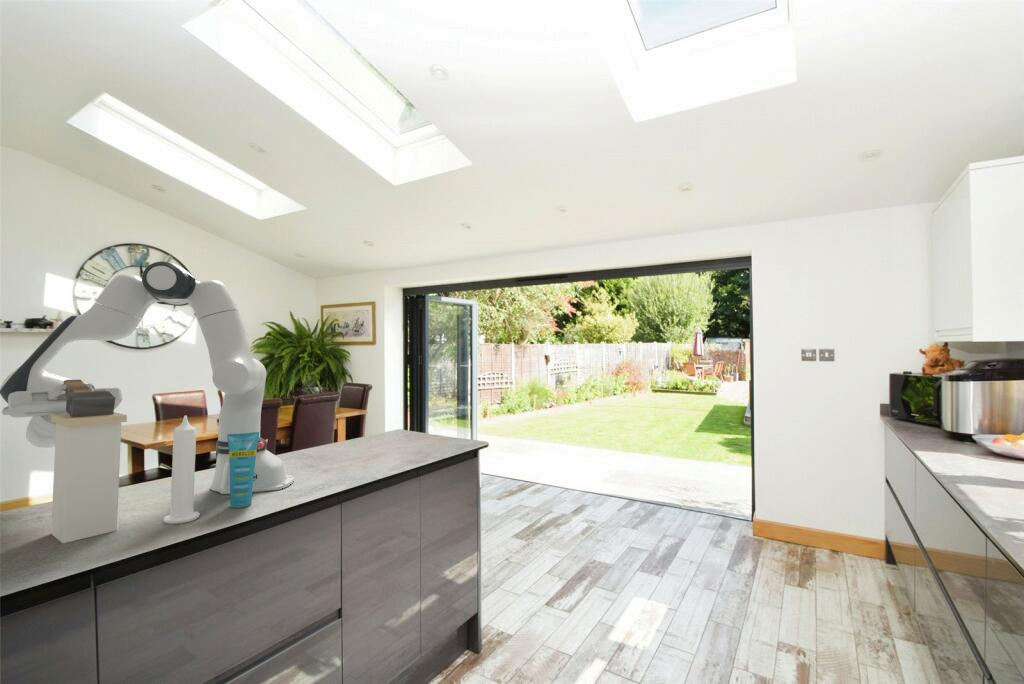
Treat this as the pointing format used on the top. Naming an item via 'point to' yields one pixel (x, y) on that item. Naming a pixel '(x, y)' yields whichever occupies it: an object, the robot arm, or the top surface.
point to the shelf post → (86, 475)
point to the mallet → (87, 400)
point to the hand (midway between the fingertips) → (76, 386)
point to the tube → (242, 467)
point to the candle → (183, 475)
